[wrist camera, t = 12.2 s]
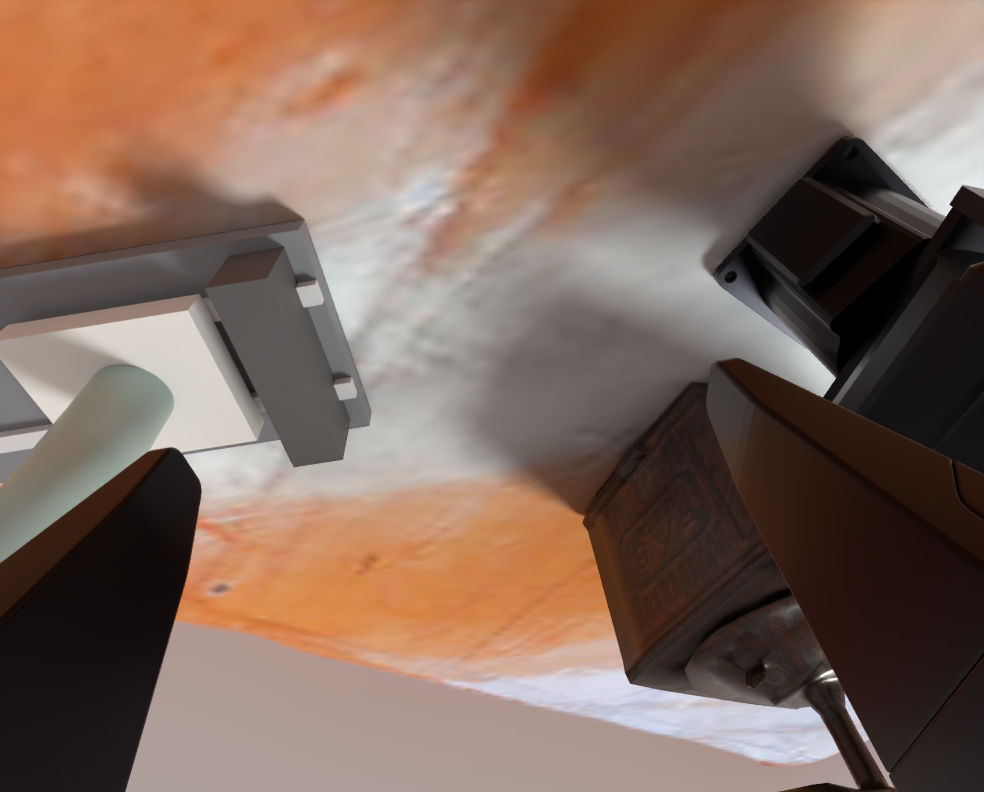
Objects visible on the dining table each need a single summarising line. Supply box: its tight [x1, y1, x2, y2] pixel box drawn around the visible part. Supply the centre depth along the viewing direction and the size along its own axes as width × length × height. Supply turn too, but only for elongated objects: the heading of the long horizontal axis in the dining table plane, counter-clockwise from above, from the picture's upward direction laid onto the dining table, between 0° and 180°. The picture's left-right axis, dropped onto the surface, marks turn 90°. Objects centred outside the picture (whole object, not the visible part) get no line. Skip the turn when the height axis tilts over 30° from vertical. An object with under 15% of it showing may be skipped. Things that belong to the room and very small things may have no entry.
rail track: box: [0, 219, 371, 483], centre depth 22 cm, size 19×9×4 cm, turn 98°
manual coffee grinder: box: [583, 383, 897, 792], centre depth 24 cm, size 16×11×18 cm
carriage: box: [0, 294, 264, 563], centre depth 18 cm, size 7×6×10 cm
